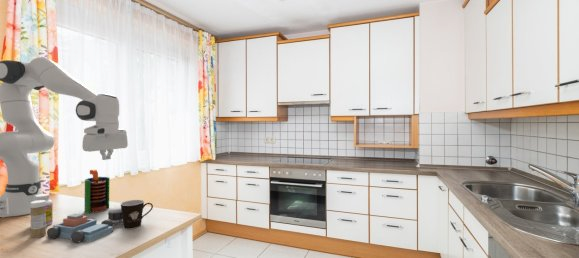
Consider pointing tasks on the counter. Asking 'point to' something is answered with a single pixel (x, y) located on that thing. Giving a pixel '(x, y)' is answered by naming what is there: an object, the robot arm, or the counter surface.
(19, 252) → the counter surface
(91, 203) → the motor
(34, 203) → the sprinkles bottle
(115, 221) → the axle mount
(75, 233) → the chassis
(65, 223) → the block
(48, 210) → the supplement bottle
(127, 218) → the coffee mug
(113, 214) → the wheel
